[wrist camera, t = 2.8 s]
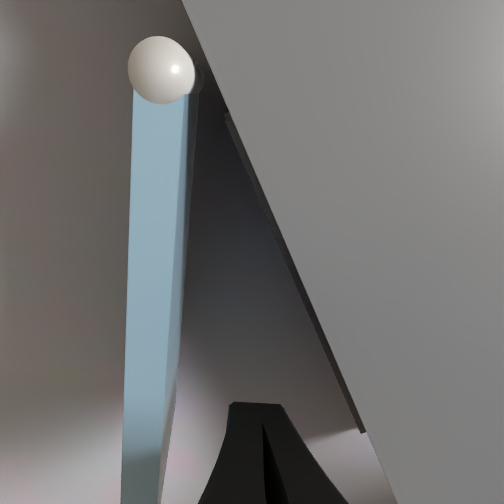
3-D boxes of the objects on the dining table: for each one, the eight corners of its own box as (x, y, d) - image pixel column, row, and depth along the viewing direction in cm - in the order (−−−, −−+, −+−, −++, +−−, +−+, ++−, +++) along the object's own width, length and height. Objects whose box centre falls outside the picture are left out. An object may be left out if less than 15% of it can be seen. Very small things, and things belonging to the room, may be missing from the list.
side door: (179, 400, 15) (159, 539, 10) (148, 398, 15) (114, 538, 10) (205, 60, 12) (194, 40, 7) (166, 55, 12) (128, 31, 7)
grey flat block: (635, 322, 16) (809, 420, 11) (361, 428, 17) (416, 561, 12) (515, -488, 9) (819, -1086, 5) (69, -247, 10) (-66, -545, 5)
